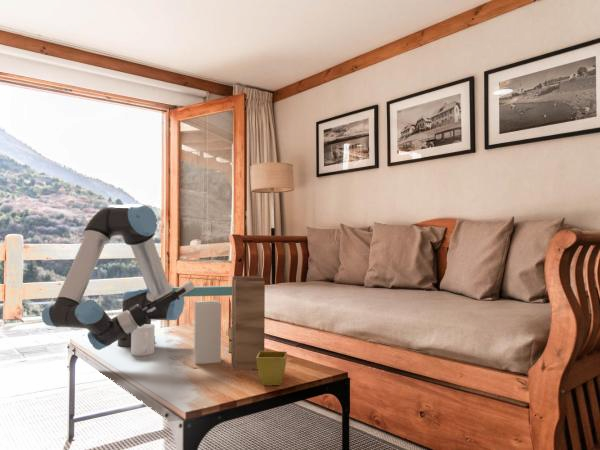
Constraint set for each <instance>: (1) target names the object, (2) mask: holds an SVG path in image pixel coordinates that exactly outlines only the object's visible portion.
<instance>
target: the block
mask: <svg viewBox="0 0 600 450" xmlns="http://www.w3.org/2000/svg"><path fill="white" fill-rule="evenodd" d="M179 288H181V286H174V287H172V293H173V292H176V291H175V290H177V289H179ZM218 296H219V297H221V296H224V297H225V296H232V285H226V286H225V285H224V286H223V285H220V286H219V285H216V286H215V285H212V286H210V285H209V286H195V288H194V289H192V290H191V291H189V292H187V293H185V294H184V295H182V296H180V297H184V298H185V297H218ZM178 297H179V296H178Z"/></svg>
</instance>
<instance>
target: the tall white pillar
mask: <svg viewBox="0 0 600 450" xmlns="http://www.w3.org/2000/svg"><path fill="white" fill-rule="evenodd" d="M193 320H194V326H193V328H194V331H193V332H194V333H193V336H194V337H193V360H194V364H195V365H199V364H200V365H201V364H215V363H221V358H222V355H221V354H222V353H221V351H222V349H221V346H222V338H221V337H222V303H221V302H220V301H219V300H207V301H206V300H204V301H203V300H202V301H198V300H197V301H194V319H193Z"/></svg>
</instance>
